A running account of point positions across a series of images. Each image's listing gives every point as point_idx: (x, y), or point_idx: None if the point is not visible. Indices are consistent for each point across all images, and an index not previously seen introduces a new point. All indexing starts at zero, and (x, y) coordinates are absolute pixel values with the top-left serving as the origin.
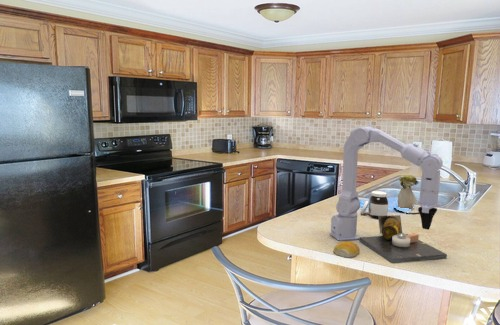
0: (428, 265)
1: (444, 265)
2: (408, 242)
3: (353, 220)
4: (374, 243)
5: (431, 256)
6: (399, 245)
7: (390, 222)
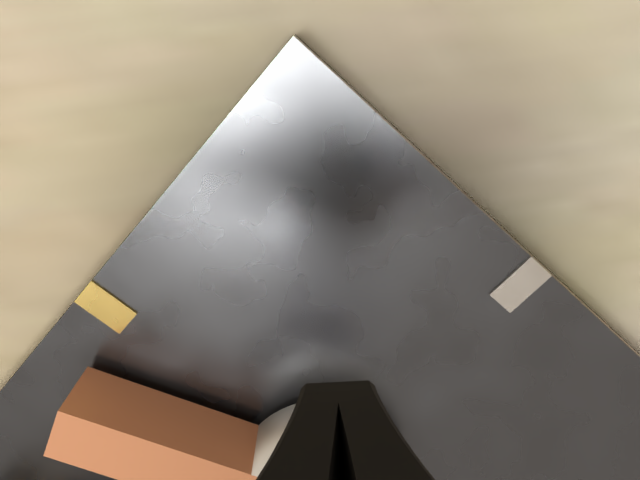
0: (607, 160)
1: (523, 22)
2: None
3: None
4: None
5: (443, 173)
6: None
7: None
